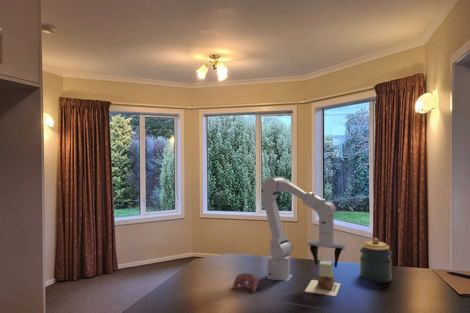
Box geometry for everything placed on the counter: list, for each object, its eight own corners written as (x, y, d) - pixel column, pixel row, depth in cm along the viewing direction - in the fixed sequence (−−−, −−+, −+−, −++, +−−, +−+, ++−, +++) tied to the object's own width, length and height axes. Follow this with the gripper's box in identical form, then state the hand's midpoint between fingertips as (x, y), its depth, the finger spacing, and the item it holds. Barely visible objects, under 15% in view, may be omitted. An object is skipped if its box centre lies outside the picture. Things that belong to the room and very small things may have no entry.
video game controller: (257, 293, 150) (260, 275, 153) (254, 292, 147) (257, 274, 149) (235, 290, 154) (238, 272, 157) (231, 288, 151) (234, 270, 153)
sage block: (319, 276, 150) (319, 263, 150) (321, 272, 154) (321, 260, 154) (330, 277, 148) (330, 264, 148) (332, 273, 152) (332, 261, 152)
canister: (358, 281, 160) (358, 240, 159) (360, 271, 172) (360, 233, 171) (391, 285, 155) (392, 242, 154) (391, 275, 167) (391, 236, 166)
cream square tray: (304, 292, 147) (304, 291, 147) (311, 281, 160) (311, 279, 160) (335, 297, 142) (335, 295, 142) (340, 285, 155) (340, 283, 155)
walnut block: (317, 288, 150) (317, 275, 150) (320, 283, 155) (320, 271, 155) (331, 290, 148) (332, 277, 148) (333, 285, 153) (334, 273, 153)
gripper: (306, 232, 150) (306, 266, 151) (343, 235, 145) (343, 270, 145) (309, 228, 157) (309, 261, 157) (345, 231, 151) (345, 265, 152)
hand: (326, 265), depth 151 cm, fingers open, 7 cm apart
